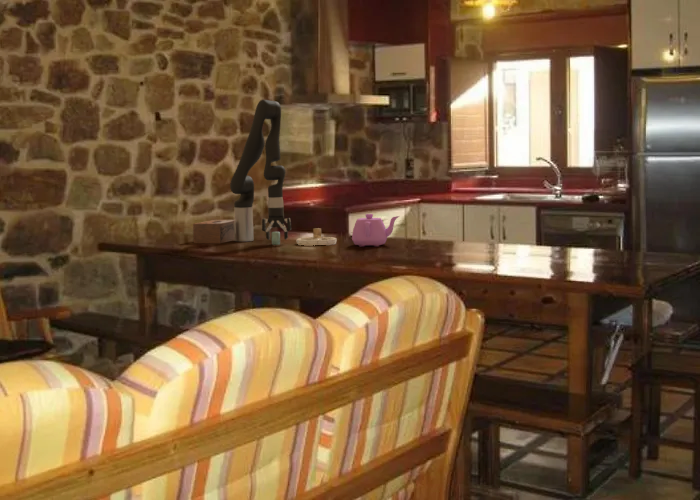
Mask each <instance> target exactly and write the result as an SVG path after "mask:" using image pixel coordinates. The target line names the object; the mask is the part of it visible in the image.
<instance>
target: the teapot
mask: <svg viewBox="0 0 700 500" xmlns="http://www.w3.org/2000/svg"><path fill="white" fill-rule="evenodd" d="M399 217H400V215H399V216H397V215H396V216H393V217H391V219H390V220H389V221H390V222H389V225H388V227H387V228H386V226H385V223H384V221H383V219H382V218H381V217H374V214H373V213H365V217H360V218H357V219H356V221H355V223H354V226H353V229H352V236H351V239H352V242H353V244H354V245H355V246H358V247H366V246H373V247H380V246H381V245H385V244H386V242H387V240H388V237H389V236H391V235H392V234H393V230H394V225H395V221H396V220H397V219H398V218H399Z"/></svg>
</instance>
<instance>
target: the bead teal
mask: <svg viewBox="0 0 700 500" xmlns="http://www.w3.org/2000/svg"><path fill="white" fill-rule="evenodd" d="M271 245H273V246H276V245H277V246H279V245H281V232H280V231H272V232H271Z"/></svg>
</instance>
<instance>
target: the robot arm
mask: <svg viewBox="0 0 700 500" xmlns="http://www.w3.org/2000/svg"><path fill="white" fill-rule="evenodd" d="M254 111H255V112H254V114H253V115H254V116H253V119H252V125H251V126H250V130H249V135H248V137H247V139H246V141H245V145H244V146H243V150H242V154H241V157H240V159H239V161H238V164H237V167H236V169H235V171H234V173H233V175H232V178H231V180H230V191H231V193H233V194H235V195H239V198H238V199H237V200H235V201H234V202H233V204H234V205H233V206H234V208H233V210H234V220H235V222H234V240H233V242H252V241H254V211H253V203H254V200H255V183H254V180H253V178H252V177H251V176H250V175H248V174H249V171H251V168H253V166H255V164H257V162H258V161H259V160H260V158H261V157H262V154H263V151H264V149H265V164H264V169H263V177H264V179H265V180H266V181H277V182H276V183H275V184H271V185H269V186H268V187H267V188H268V189H267V194H268V195H267V196H268V197H267V199H268V200H267V210H268V211H267V212H268V215H267V216H268V217H267V218H262V219H261V230H262V232H265V237H266V239H267V240H268V241H270V239H271V236H270V235H271V233H270V231H271V229H272V228H281V229H282V230H283V231H284V232H283V236H284V240H287V239H288V238H289V231H292V221H291V218H290V217H287V218H285V213H284V211H285V210H284V209H285V208H284V207H285V206H284V199H283V197H284V196H283V195H284V194H283V187H284V180H285V178H286V173H287V172H286V168H285V166H283V165H272V164H273V163H274V162H275V163H276V162H278V161H280V160H281V149H280V147H281V146H280V132H281V131H280V130H281V121H282V120H281V119H282V118H281V117H282V109H281V104H280V103H279V102H278V101H276V100H269V99H261V100H259V101H258V103H257V105H256V108H255V110H254ZM266 120H270V131H269V133H268V135H267V138H266V139H265V138H264V133H263V127H264V123H265V121H266ZM267 223H269V224H268V226H267V225H266V224H267ZM285 223H286V224H287V227H286V225H285Z"/></svg>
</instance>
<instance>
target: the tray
mask: <svg viewBox="0 0 700 500" xmlns="http://www.w3.org/2000/svg"><path fill="white" fill-rule="evenodd" d="M337 241H338V240H337V237H332V236H321V238H313V236H308V237H299V238H296V244H298V245H297V246H301V245H304V246H303V247H305V246H306V247H316V246H315V245H326V246H333V245H336V244H337ZM313 245H314V246H313Z"/></svg>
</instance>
